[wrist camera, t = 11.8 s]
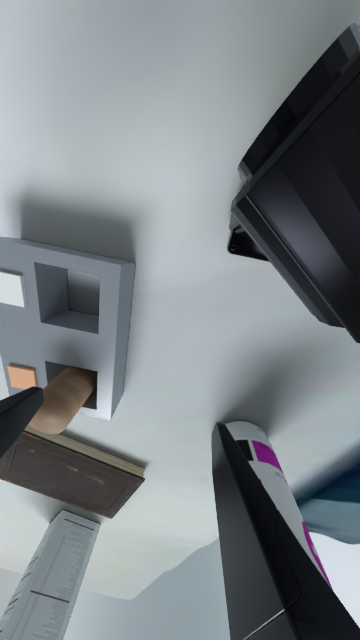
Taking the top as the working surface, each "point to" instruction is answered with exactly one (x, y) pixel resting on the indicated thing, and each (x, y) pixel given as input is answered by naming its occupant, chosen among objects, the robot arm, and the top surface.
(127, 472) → the hardcover book
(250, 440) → the supplement can
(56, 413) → the walnut peg
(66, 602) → the supplement box
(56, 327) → the socket block
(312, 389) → the top surface
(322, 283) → the robot arm
